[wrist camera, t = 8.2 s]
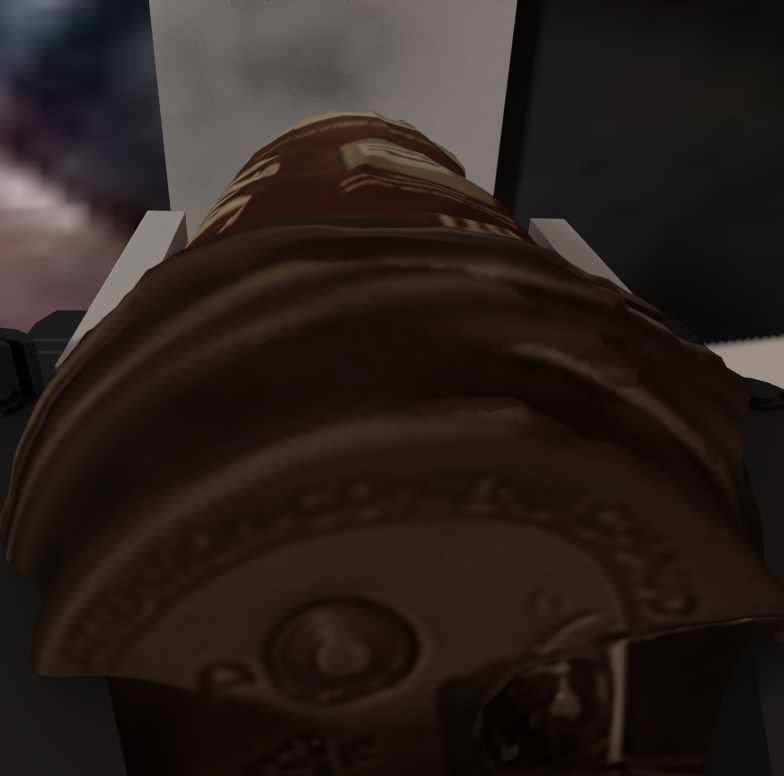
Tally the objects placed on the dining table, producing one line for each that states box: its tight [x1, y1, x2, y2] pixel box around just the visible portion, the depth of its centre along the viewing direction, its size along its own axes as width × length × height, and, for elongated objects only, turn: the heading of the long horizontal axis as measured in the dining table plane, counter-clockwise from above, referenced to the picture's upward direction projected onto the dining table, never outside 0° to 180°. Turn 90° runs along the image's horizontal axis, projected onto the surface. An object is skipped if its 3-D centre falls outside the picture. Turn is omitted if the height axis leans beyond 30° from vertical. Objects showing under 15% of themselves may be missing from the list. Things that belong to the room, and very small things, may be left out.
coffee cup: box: [0, 110, 784, 776], centre depth 12 cm, size 9×8×13 cm
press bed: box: [149, 0, 517, 243], centre depth 31 cm, size 14×14×2 cm
